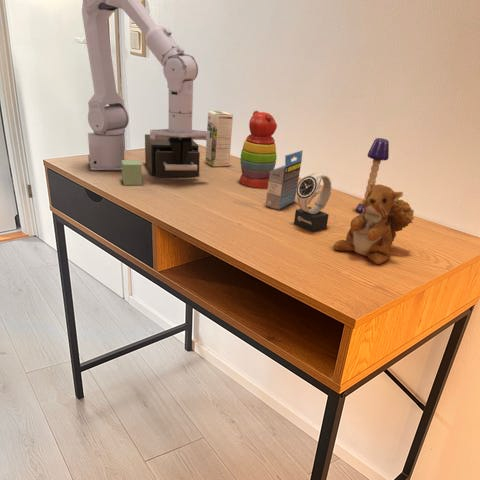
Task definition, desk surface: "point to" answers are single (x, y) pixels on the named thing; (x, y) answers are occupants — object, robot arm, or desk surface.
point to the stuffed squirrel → (377, 224)
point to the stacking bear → (259, 151)
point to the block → (131, 172)
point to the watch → (306, 192)
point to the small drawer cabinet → (157, 143)
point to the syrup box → (219, 138)
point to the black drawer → (167, 163)
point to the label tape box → (284, 182)
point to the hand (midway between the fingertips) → (179, 169)
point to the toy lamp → (375, 163)
